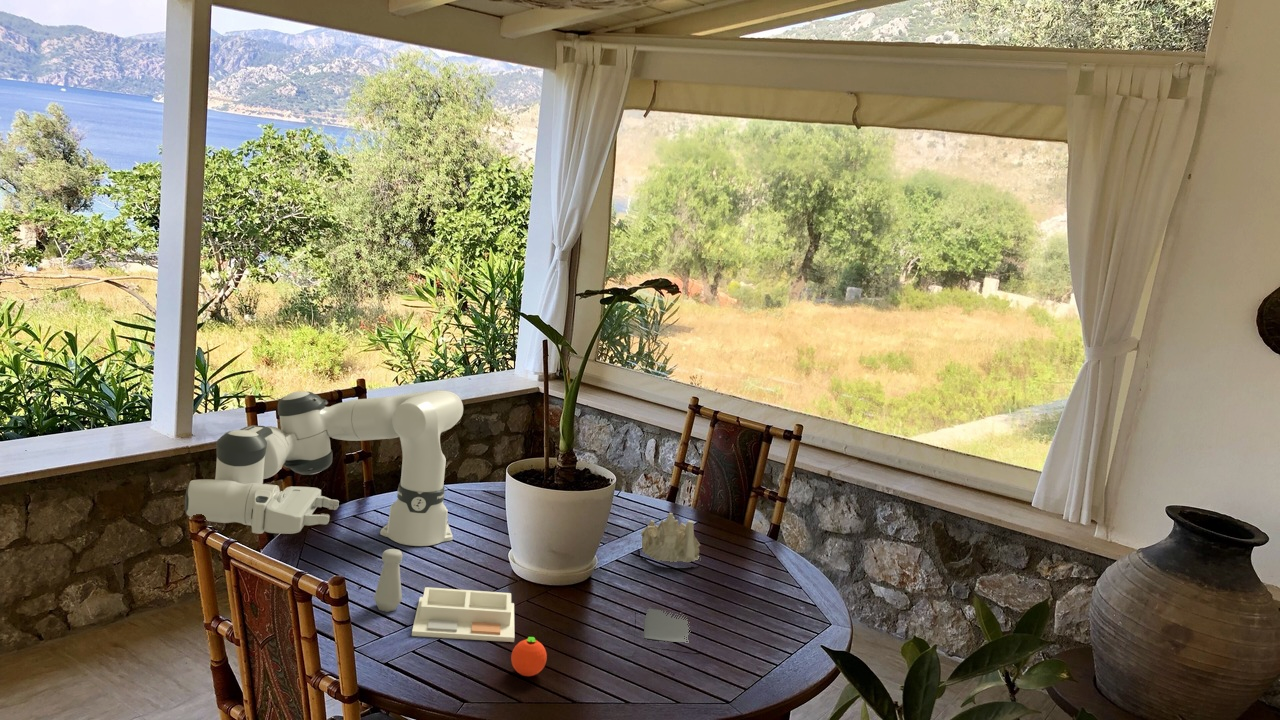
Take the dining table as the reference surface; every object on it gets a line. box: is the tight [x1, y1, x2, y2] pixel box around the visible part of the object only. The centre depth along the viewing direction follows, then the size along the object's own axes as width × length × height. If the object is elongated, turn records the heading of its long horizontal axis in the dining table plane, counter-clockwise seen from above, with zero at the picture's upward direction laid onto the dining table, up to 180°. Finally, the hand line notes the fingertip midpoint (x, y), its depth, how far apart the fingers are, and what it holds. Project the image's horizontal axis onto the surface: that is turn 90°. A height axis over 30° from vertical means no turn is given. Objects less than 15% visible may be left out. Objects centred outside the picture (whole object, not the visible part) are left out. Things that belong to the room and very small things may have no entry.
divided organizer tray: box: [411, 586, 515, 643], centre depth 197 cm, size 17×21×4 cm
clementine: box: [510, 636, 548, 677], centre depth 179 cm, size 8×7×7 cm
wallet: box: [644, 608, 691, 643], centre depth 207 cm, size 20×2×15 cm
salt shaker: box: [374, 548, 403, 613], centre depth 198 cm, size 6×6×13 cm
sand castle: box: [640, 512, 701, 562], centre depth 252 cm, size 16×16×15 cm
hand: (333, 512), depth 194 cm, fingers open, 8 cm apart
